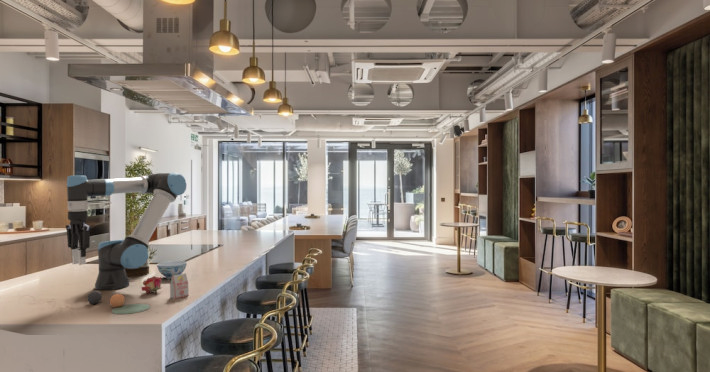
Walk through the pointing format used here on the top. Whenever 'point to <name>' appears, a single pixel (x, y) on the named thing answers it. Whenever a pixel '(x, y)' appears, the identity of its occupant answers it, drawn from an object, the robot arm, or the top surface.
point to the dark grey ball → (94, 297)
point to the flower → (152, 284)
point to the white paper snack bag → (179, 286)
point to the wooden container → (139, 269)
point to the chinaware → (171, 268)
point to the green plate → (130, 309)
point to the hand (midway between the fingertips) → (79, 263)
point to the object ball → (117, 300)
